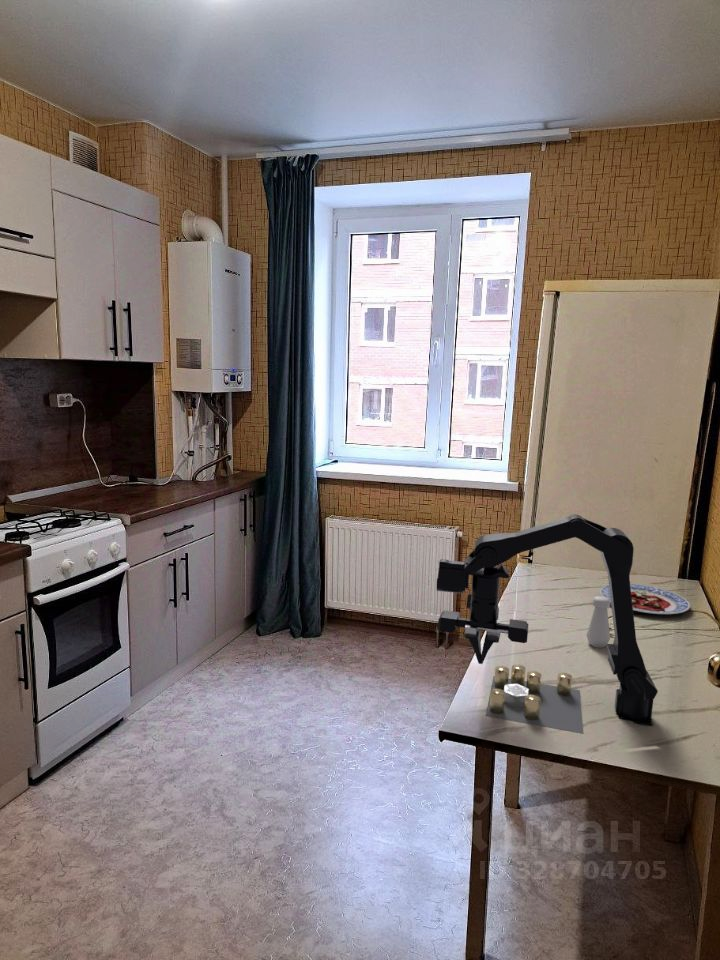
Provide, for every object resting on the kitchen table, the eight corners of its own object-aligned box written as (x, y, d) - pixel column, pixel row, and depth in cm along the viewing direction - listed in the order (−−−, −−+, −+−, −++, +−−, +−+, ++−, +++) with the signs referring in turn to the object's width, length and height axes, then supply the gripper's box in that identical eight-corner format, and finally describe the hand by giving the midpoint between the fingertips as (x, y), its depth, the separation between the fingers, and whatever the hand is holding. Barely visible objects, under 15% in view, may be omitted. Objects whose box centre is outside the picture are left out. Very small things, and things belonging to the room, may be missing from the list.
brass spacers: (570, 689, 140) (572, 673, 139) (572, 727, 125) (574, 709, 124) (495, 677, 145) (496, 661, 144) (488, 712, 130) (490, 694, 129)
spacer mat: (579, 692, 140) (579, 690, 140) (583, 735, 123) (583, 733, 123) (493, 677, 145) (493, 676, 145) (485, 717, 128) (485, 715, 128)
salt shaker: (590, 637, 169) (594, 592, 167) (611, 644, 166) (616, 597, 163) (582, 644, 165) (587, 597, 163) (604, 651, 161) (609, 603, 159)
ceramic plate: (687, 627, 179) (688, 617, 179) (593, 608, 192) (593, 599, 191) (691, 600, 201) (692, 591, 201) (606, 584, 214) (607, 576, 213)
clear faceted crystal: (522, 693, 138) (523, 683, 137) (533, 704, 133) (534, 694, 133) (498, 695, 136) (498, 685, 136) (508, 707, 132) (509, 696, 131)
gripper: (531, 588, 138) (526, 654, 141) (447, 578, 143) (444, 641, 146) (529, 605, 127) (524, 676, 130) (439, 594, 133) (435, 662, 135)
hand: (480, 663), depth 136 cm, fingers closed
